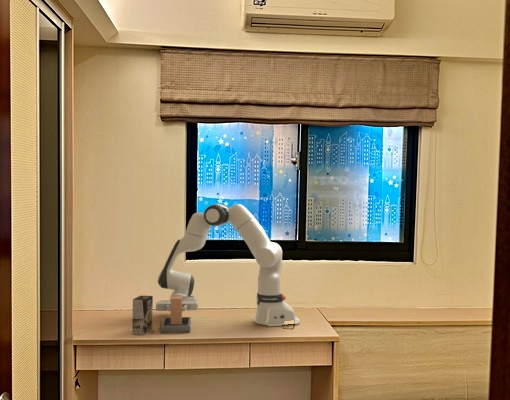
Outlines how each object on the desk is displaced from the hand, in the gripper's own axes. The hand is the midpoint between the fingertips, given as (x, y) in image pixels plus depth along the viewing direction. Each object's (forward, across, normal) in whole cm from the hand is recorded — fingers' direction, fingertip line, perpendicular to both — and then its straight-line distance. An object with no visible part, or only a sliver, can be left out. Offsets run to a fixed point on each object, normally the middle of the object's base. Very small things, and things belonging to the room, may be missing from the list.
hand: (176, 309), depth 245 cm
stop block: (-1, 0, +6) cm, 7 cm away
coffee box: (+5, -15, +9) cm, 18 cm away
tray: (-1, 0, +9) cm, 9 cm away
